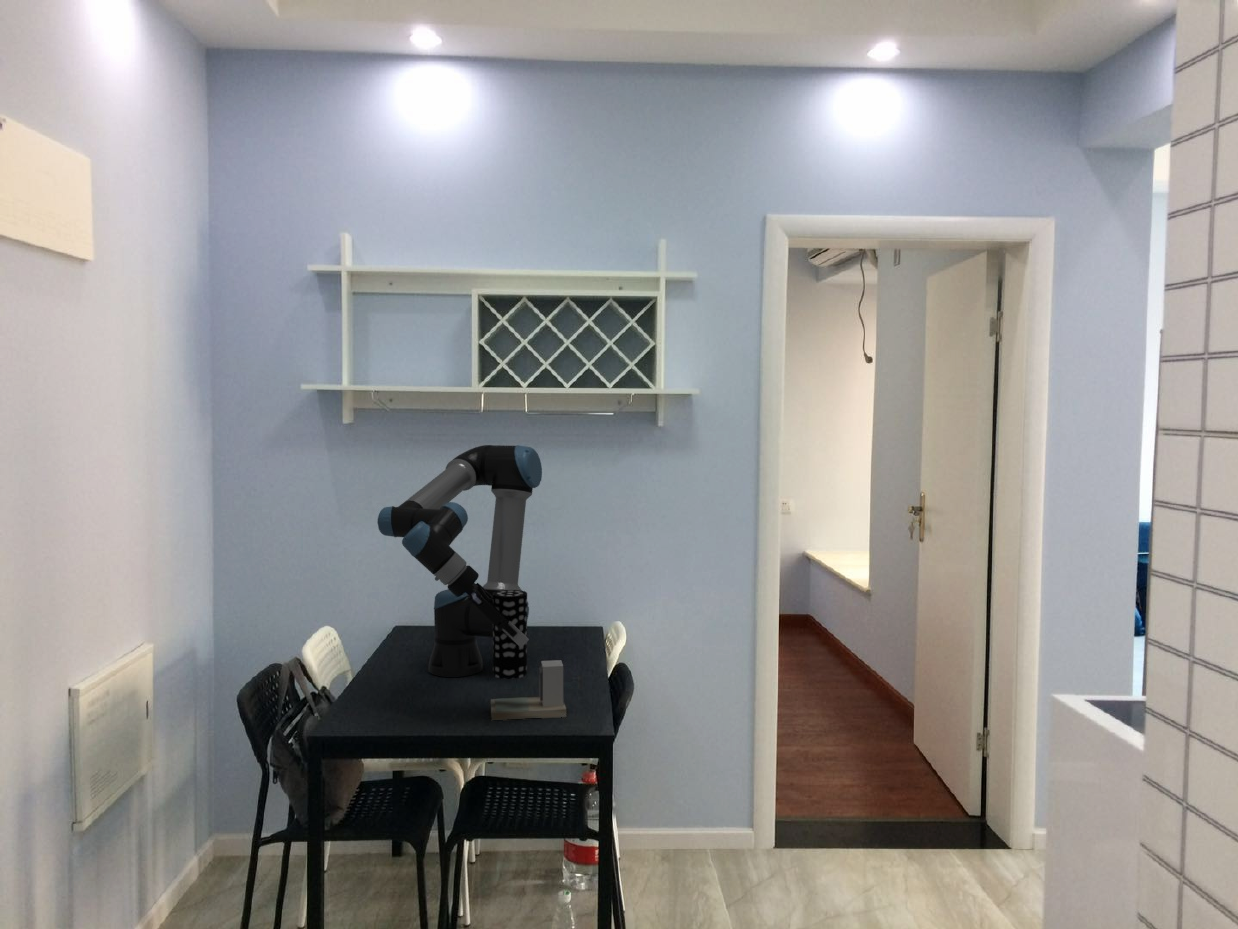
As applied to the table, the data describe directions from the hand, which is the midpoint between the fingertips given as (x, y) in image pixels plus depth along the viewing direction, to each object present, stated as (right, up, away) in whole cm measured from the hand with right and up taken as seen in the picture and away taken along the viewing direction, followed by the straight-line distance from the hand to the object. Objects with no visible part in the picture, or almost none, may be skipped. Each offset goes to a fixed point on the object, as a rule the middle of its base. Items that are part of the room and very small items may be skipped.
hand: (523, 638), depth 226 cm
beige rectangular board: (+1, -19, +2) cm, 19 cm away
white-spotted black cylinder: (-3, -9, 0) cm, 10 cm away
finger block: (+7, -17, +3) cm, 18 cm away
